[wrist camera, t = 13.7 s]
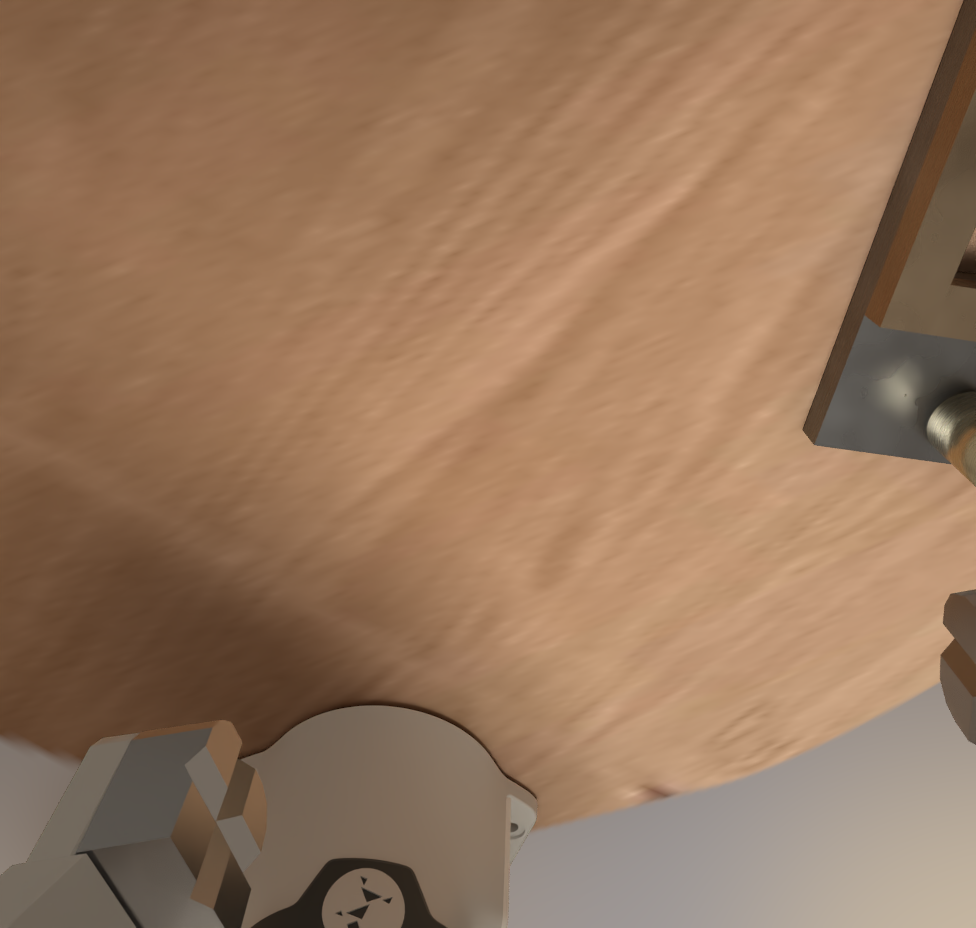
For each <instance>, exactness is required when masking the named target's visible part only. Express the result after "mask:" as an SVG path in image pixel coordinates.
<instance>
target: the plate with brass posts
mask: <svg viewBox="0 0 976 928" xmlns="http://www.w3.org/2000/svg"><path fill="white" fill-rule="evenodd" d="M975 227H976V0H964V2H963V5H962V8H961V10H960V13H959V16H958V18H957V21H956V24H955V26H954V29H953V32H952V34H951V37H950V40H949V42H948V45H947V48H946V50H945V53H944V56H943V58H942V61H941V64H940V66H939V69H938V71H937V74H936V77H935V79H934V82H933V85H932V87H931V90H930V93H929V95H928V98H927V101H926V103H925V106H924V109H923V111H922V114H921V117H920V119H919V122H918V125H917V127H916V130H915V133H914V135H913V138H912V141H911V143H910V146H909V149H908V151H907V154H906V157H905V159H904V162H903V165H902V167H901V170H900V173H899V175H898V178H897V181H896V183H895V186H894V189H893V191H892V194H891V197H890V199H889V202H888V205H887V207H886V210H885V212H884V215H883V218H882V220H881V223H880V226H879V228H878V231H877V234H876V236H875V239H874V242H873V244H872V247H871V250H870V252H869V255H868V258H867V260H866V263H865V266H864V268H863V271H862V274H861V276H860V279H859V282H858V284H857V287H856V290H855V292H854V295H853V298H852V300H851V303H850V306H849V308H848V311H847V314H846V316H845V319H844V322H843V324H842V327H841V330H840V332H839V335H838V338H837V340H836V343H835V346H834V348H833V351H832V354H831V356H830V359H829V361H828V364H827V367H826V369H825V372H824V375H823V377H822V380H821V383H820V385H819V388H818V391H817V393H816V396H815V399H814V401H813V404H812V407H811V409H810V412H809V415H808V417H807V420H806V423H805V425H804V428H803V431H804V433H805V434H806V435H807V436H808V438H809V439H810V440H811V442H812V443H813V444H814V445H817V446H824V447H832V448H839V449H846V450H853V451H860V452H867V453H875V454H882V455H889V456H896V457H903V458H911V459H918V460H925V461H932V462H939V463H946V464H952V465H953V466H954V467H955V468H956V469H958V470H959V471H960V472H961V473H962V474H963V475H964V476H965V477H966V478H967V479H968V480H969V481H970V482H971V483H972V484H973V485H974V486H976V274H971V273H964V272H958V271H957V269H958V267H959V264H960V262H961V260H962V257H963V255H964V253H965V250H966V248H967V246H968V243H969V241H970V239H971V237H972V234H973V232H974V230H975Z"/></svg>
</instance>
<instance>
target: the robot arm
mask: <svg viewBox="0 0 976 928" xmlns="http://www.w3.org/2000/svg"><path fill="white" fill-rule="evenodd" d="M943 624H944V625H945V627H946V628H947V629H948V630H949V632H950V633H951V634H952V635H953V637H954V638H955V639H954V640H953V641H952V642H951V643H950V645H949V646H948V647H947V648H946V649H945V650H944V652H943V653H942V654H941V659H940V681H941V684H942V688H943V692H944V696H945V700H946V703H947V706H948V708H949V710H950V712H951V714H952V716H953V718H954V720H955V722H956V723H957V725H958V726H959V728H960V729H961V731H962V732H963V733H964V735H965V736H966V738H967V739H968V740H969V741H970V742H972V743H974V744H975V745H976V589H975V590H969V591H964V592H958V593H953V594H950V596H949V598H948V599H947V601H946V603H945V605H944V616H943ZM241 745H242V740H241V738H240V737H239V735H238V733H237V731H236V729H235V727H234V726H233V724H232V722H229V721H225V720H215V721H208V722H202V723H195V724H188V725H181V726H174V727H168V728H161V729H154V730H147V731H142V732H141V733H133V734H126V735H119V736H112V737H105V738H102V739H100V740H99V741H97V742H96V743H95V744H93V745H92V746H90V748H89V750H88V751H87V753H86V755H85V757H84V759H83V760H82V762H81V764H80V766H79V768H78V769H77V771H76V773H75V775H74V777H73V778H72V780H71V782H70V784H69V786H68V787H67V789H66V791H65V793H64V795H63V797H62V798H61V800H60V802H59V804H58V806H57V807H56V809H55V811H54V813H53V814H52V816H51V818H50V820H49V822H48V824H47V825H46V827H45V829H44V831H43V833H42V834H41V836H40V838H39V840H38V842H37V844H36V845H35V847H34V849H33V851H32V853H31V854H30V856H29V858H28V860H27V861H26V863H22V864H17V865H12V866H11V867H10V868H9V869H7V870H6V871H5V872H4V873H3V874H1V875H0V928H507V924H508V909H509V870H510V865H511V863H512V862H513V860H514V858H515V856H516V854H517V853H518V851H519V850H520V848H521V846H522V844H523V843H524V841H525V839H526V838H527V836H528V834H529V832H530V831H531V829H532V827H533V826H534V824H535V822H536V819H537V808H538V803H537V800H536V798H535V797H534V796H533V795H532V794H531V793H529V792H528V791H527V790H525V789H524V788H522V787H521V786H519V785H517V784H516V783H514V782H512V781H511V780H509V779H507V778H506V777H505V776H504V775H503V774H502V772H501V771H500V770H499V769H498V767H497V766H496V764H495V762H494V761H493V759H492V758H491V756H490V755H489V754H488V753H487V751H486V750H485V749H484V748H483V747H482V746H481V745H480V744H479V743H478V742H477V741H476V740H475V739H474V738H472V737H471V736H470V735H469V734H467V733H466V732H464V731H463V730H461V729H460V728H458V727H456V726H455V725H453V724H451V723H449V722H447V721H445V720H442V719H440V718H438V717H435V716H432V715H429V714H426V713H423V712H419V711H415V710H411V709H406V708H400V707H392V706H375V705H374V706H355V707H347V708H342V709H337V710H333V711H329V712H326V713H322V714H320V715H317V716H314V717H312V718H310V719H308V720H306V721H304V722H302V723H300V724H298V725H297V726H295V727H294V728H292V729H291V730H290V731H288V732H287V733H286V734H285V735H284V736H283V737H281V738H280V739H279V740H278V741H277V742H276V743H275V744H274V745H273V746H271V747H270V748H269V749H267V750H265V751H264V752H261V753H258V754H255V755H252V756H249V757H246V758H243V759H241V760H240V759H238V755H239V752H240V749H241Z"/></svg>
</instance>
